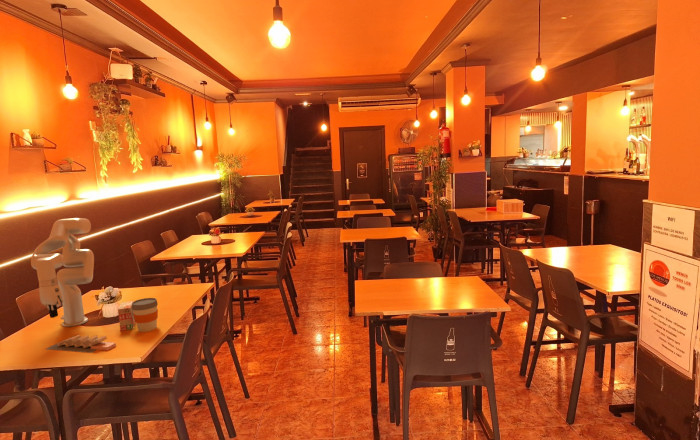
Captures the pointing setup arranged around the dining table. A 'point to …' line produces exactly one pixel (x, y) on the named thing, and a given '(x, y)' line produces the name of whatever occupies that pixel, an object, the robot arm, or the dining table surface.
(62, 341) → the cream domino
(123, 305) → the stack of blocks
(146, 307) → the reusable coffee cup
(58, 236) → the robot arm
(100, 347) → the terracotta domino
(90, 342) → the cream domino
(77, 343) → the cream domino
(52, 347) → the slate mat
